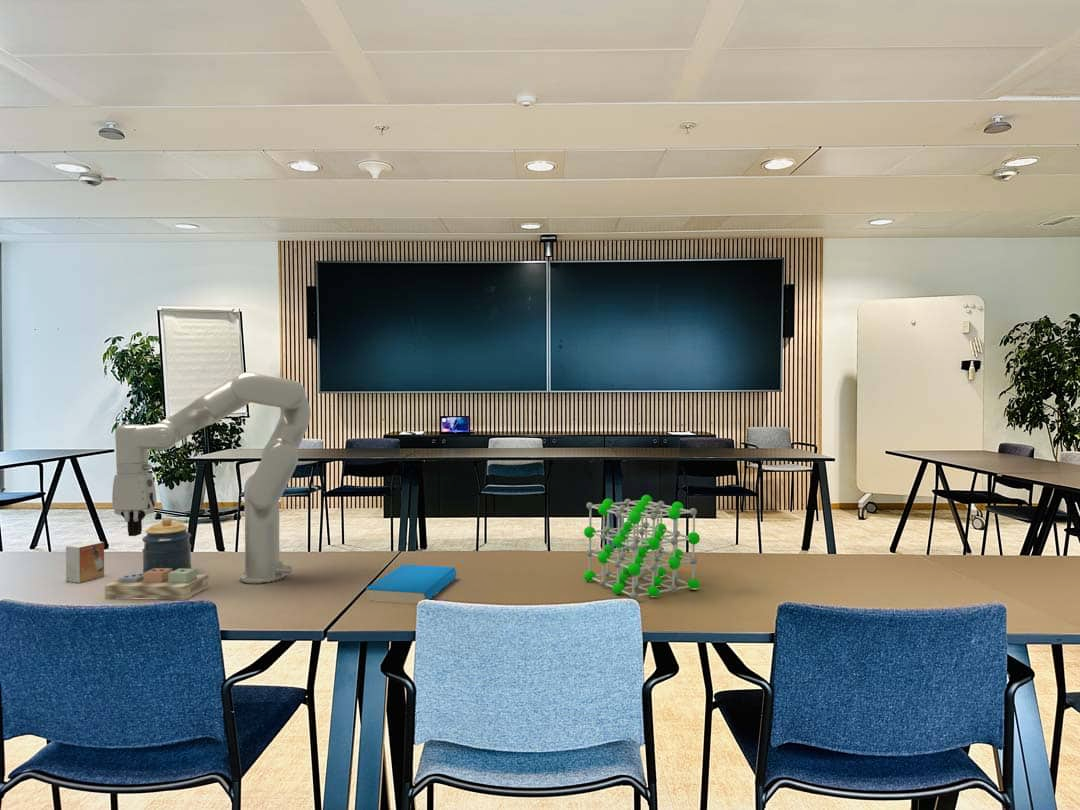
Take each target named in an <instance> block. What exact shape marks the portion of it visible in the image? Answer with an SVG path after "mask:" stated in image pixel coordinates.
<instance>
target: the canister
mask: <svg viewBox="0 0 1080 810" xmlns="http://www.w3.org/2000/svg"><path fill="white" fill-rule="evenodd" d="M188 529H189V527H188V526H187V525H185V524H183V523H181V522H173V521H172V519H171V518H170V517H164V518H163V519H162V520H161V523H156V524H153V525H151V526H150V527H148V528H147V529H145V533H146V535H145V536H143V537H142V542H143V546H144V547H143V548H142V551H141V552H142V574H144V572H147V571H149V570H152V569H154V568H172V571H175V570H177V569H192V559H191V558H192V557H191V556H192V553H191V552H192V551H191V549H192V548H191V547H192V545H191V543H190V538H191V536H192V534H191V533H190V532H188V531H187V530H188Z"/></svg>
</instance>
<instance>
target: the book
mask: <svg viewBox="0 0 1080 810" xmlns="http://www.w3.org/2000/svg"><path fill="white" fill-rule="evenodd" d="M456 577H457V571H456V567H453V566H439V565H438V566H437V565H435V566H434V565H421V564H419V565H418V564H402V565H400V566H398V567H397V568H395V569H393V570H391V572H389V573H387V574H386V575H384V576H383V577H381V578H380V579H378V580H376V581H375V582H373V583H372V584H370V585H368V586H367V587H366V588H365V590H366V591H367V592H366V593H367V594H366V595H367V596H366V597H367V598H366V600H367V599H373V600H388V601H402V602H416V603H417V602H418V601H420V600H424V599H430V600H432V599H431V597H432V596H433V595H435V594H436V593H437V592H439V591H440V590H441V589H442V588H444V587H445V586H446V585H447V586H449V585H450V584H451V583H452V582H453V581H454V580H456ZM451 581H452V582H451ZM450 582H451V583H450ZM449 583H450V584H449ZM447 586H446V587H447ZM446 587H445V588H446ZM445 588H444V589H445ZM442 590H443V589H442ZM442 590H441V591H442ZM441 591H440V592H441ZM440 592H439V593H440ZM436 595H437V594H436ZM436 595H435V596H436Z"/></svg>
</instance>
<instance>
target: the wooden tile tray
mask: <svg viewBox="0 0 1080 810" xmlns="http://www.w3.org/2000/svg"><path fill="white" fill-rule="evenodd" d="M137 574H139V572H138V573H137ZM209 580H210V579H209V574H196V579H195V580H193V581H191V582H189V583H187V584H183V583H168V580H167V581H165V582H163V583H144V580H142V581H140V582H137V583H128V582H119V579H117V580H115V581H112V582H109V583H108V584H105V585H104V599H106V600H117V599H116V598H122V599H121V600H133V599H132V598H157V599H169V600H168V601H185V600H187V599H186V598H187V597H189V596H191V595H193V596H195V595H197V594H198V592H199V593H201V592H203V591H204V590H206V589H208V588H209V587H210V586H209V585H210V584H209V583H210V582H209ZM207 587H208V588H207ZM205 588H206V589H205ZM202 590H203V591H202ZM200 591H201V592H200ZM196 593H197V594H196ZM194 594H195V595H194ZM191 597H192V596H191ZM123 598H124V599H123ZM125 598H126V599H125ZM130 598H131V599H130ZM189 598H190V597H189Z"/></svg>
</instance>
